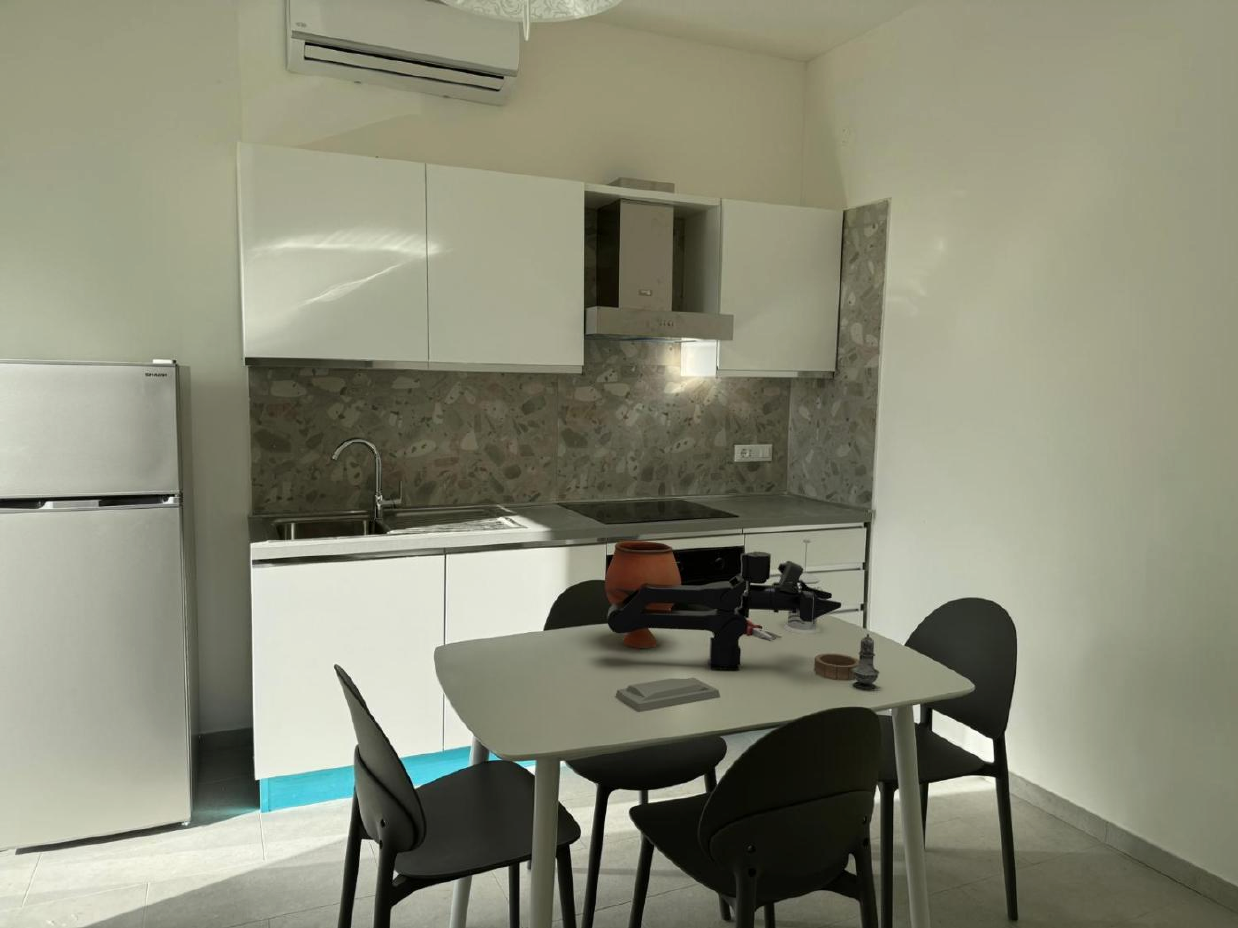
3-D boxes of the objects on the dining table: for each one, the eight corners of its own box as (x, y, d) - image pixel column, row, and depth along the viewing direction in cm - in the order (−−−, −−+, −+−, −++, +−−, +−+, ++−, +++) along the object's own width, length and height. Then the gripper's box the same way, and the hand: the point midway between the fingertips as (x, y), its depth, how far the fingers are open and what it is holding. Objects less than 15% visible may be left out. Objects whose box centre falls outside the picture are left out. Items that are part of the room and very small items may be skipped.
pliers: (763, 646, 228) (764, 636, 227) (705, 628, 243) (705, 619, 242) (791, 639, 235) (792, 629, 235) (733, 622, 250) (733, 613, 250)
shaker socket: (819, 679, 202) (820, 666, 202) (810, 665, 212) (811, 652, 212) (864, 680, 202) (865, 667, 202) (853, 666, 212) (853, 654, 212)
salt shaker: (845, 685, 198) (848, 632, 197) (859, 680, 202) (862, 628, 201) (869, 693, 194) (873, 638, 193) (883, 687, 198) (886, 633, 197)
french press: (799, 621, 251) (804, 533, 249) (833, 631, 242) (838, 540, 240) (776, 627, 245) (780, 536, 243) (810, 637, 236) (815, 543, 234)
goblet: (667, 658, 213) (671, 555, 211) (591, 648, 219) (594, 547, 217) (686, 638, 231) (690, 542, 229) (615, 629, 237) (619, 535, 235)
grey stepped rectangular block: (721, 700, 188) (721, 683, 187) (639, 715, 178) (640, 697, 177) (692, 685, 197) (693, 669, 196) (613, 698, 186) (614, 682, 186)
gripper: (777, 571, 197) (848, 574, 197) (764, 555, 216) (829, 557, 216) (774, 621, 198) (845, 623, 198) (761, 600, 217) (826, 603, 217)
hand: (836, 600), depth 207 cm, fingers open, 9 cm apart
